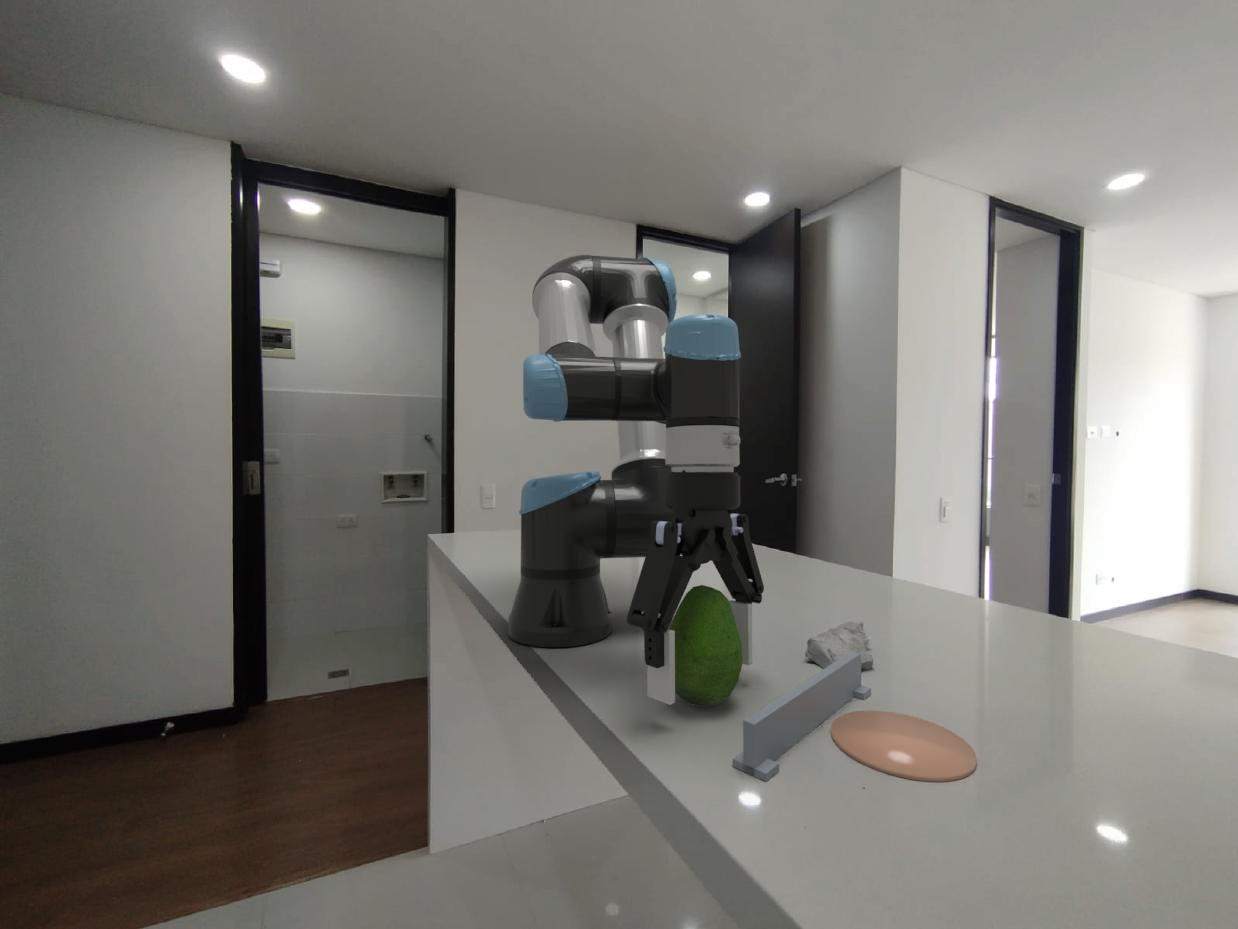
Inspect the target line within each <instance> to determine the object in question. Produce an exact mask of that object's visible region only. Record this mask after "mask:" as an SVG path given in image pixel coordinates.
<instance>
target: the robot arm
mask: <svg viewBox="0 0 1238 929" xmlns="http://www.w3.org/2000/svg"><path fill="white" fill-rule="evenodd" d="M531 296H532V298H531V303H532V309H533V312H534V314H535V316H536V319H538V347H539V348H538V350H539V351H538V352H539V353H538V354H535V355H529V356H526V358H524V361H523V370H522V384H523V385H522V396H523V398H522V399H523V400H522V401H523V411H524V414H525V415H526V417H527V418H528V419H529V418H530V419H533V420H542V421H543V420H546V421H553V422H555V423H557V422H562V421H563V422H564V421H568V422H569V421H571V422H572V421H574V422H575V421H576V422H579V421H581V422H582V421H583V422H584V421H585V422H587V421H591V422H592V421H595V422H598V421H603V422H604V421H609V422H610V421H611V422H612V421H614V422H617V432H618V433H617V434H618V446H619V447H618V448H619V462H618V463H617V464H616V465H615V466H613V468H612V469H611V474H610V475H611V479H602V475H601V473H600V471H598V470H588V471H581V472H571V473H564V474H563V473H562V474H557V475H548V476H543V477H537V478H532V479H529V480H528V481H526V482H525V483H524V484H523V486H522V488H521V492H520V509H519V511H518V513H519V514H518V515H520V581H519V584H518V588H517V591H516V594H515V596H514V600H513V603H512V609H511V612H510V614H509V616H508V622H507V623H508V627H507V628H508V630H507V631H508V633H507V634H508V636H509V638H510V639H511V640H513V641H515V642H517V643H519V644H523V645H527V646H533V647H541V648H565V647H577V646H582V645H587V644H588V645H589V644H592V643H595V642H598V641H601V640H604V639H605V638H608V636H610V635H611V634H612V632H613V614H612V611H611V609H610V608H609V603H608V599H607V595H606V592H605V589H604V586H603V583H602V578H601V559H622V558H623V559H624V558H627V559H630V558H631V559H632V558H644V560H643V564H642V567H641V570H640V574H639V577H638V579H637V580H638V581H637V584H636V587H635V590H634V593H633V596H632V600H631V602H630V606H629V610H628V614H627V617H626V622H627V624H628V625H630V626H633V627H636V628H641V629H642V630H643V633H644V634H643V635H644V637H643V638H644V641H643V642H644V644H643V646H644V652H643V656H644V657H643V658H644V664H645V665H646V666H647V672H646V673H647V674H646V675H647V677H646V678H647V686H646V687H647V697H649V698H652V699H653V700H657V701H659V702H662V703H664V704H666V705H673V704H675V703H676V693H675V631H673V630H669V627H670V625H671V622H672V620H673V618H674V616H675V614H676V611H677V609H678V607H679V605H680V603H681V602H682V599H683V596H684V594H685V591H686V589H687V586H688V584H689V583H690V581H691V578H692V575H693V574H694V573H695V572H696V571H698V570H699V569H700V568H701V566H702V565H704V564H708V563H709V562H711V561H712V563H713V565H714V567H715V568H716V571H717V572H718V574H719V576H720V578H721V580H722V581H723V583H724V585H725V587H726V589H727V591H728V592H729V594H730V596H731V598H732V599H733V600H729V603H730V606H731V609H732V612H733V615H734V618H735V622H736V626H737V629H738V633H739V636H740V640H741V644H742V665H745V666H750V665H752V664H753V604H761V603H762V600H763V593H764V591H765V586H764V582H763V581H764V580H763V578H762V575H761V571H760V568H759V564H758V561H757V556H756V553H755V550H754V546H753V543H752V539H751V536H750V535H751V534H750V525H749V517H748V515H747V514H745V513H743V514H742V513H731V510H736V509H738V508H739V507H740V505H741V475H739V473H738V472H734V471H735V470H734V467H738V466H739V465H740V464H741V463H740V444H741V437H740V390H741V389H740V384H741V382H740V377H741V375H740V372H741V371H740V369H741V368H740V366H741V365H740V362H741V360H740V358H741V357H742V353H741V351H740V341H739V340H740V339H739V338H740V337H739V329H738V325H737V324H736V322H735V321H734V320H733V319H732V318H729V317H728V316H725V315H724V316H723V315H720V314H712V313H711V314H710V313H709V314H708V313H696V314H690V315H683V316H680V317H677V318H676V319H675V316H676V313H677V304H678V300H677V285H676V278H675V274H674V273H673V270H672V268H671V267H670V265H669V264H668V262H666V261H664V260H661V259H653V258H649V257H643V256H642V257H640V258H637V257H636V258H635V257H618V256H607V255H606V256H605V255H591V254H590V255H589V254H580V255H579V254H578V255H573V256H568V257H566V258H563V259H561V260H559V261H557V262H555V263H554V264H552V265H551V266H549V267H548V268H547V269H545V270H544V271H543V272H542V273H541V275H540V276H539V277H538V279H537V280H536V281H535V284H534V286H533V291H532V295H531ZM593 324H595V325H602V332H603V335H604V336H605V338H607V339H608V341H610V342H611V344H612V354H613V355H612V356H598V353H597V349H596V348H597V347H596V344H595V339H594V337H593V332H592V328H591V327H592V326H591V325H593ZM664 335H665V338H664V339H665V340H664V346H663V341H662V337H663V336H664ZM610 633H611V634H610ZM609 634H610V635H609Z"/></svg>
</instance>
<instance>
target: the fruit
mask: <svg viewBox="0 0 1238 929" xmlns="http://www.w3.org/2000/svg"><path fill="white" fill-rule="evenodd" d="M729 601H730V600H729V598H728V597H727V596H725V594H724V593H723V592H722V591H721V590H719V589H717V588H713V587H710V586H706V585H703V584H700V585H697V586H693V587H691V588H690V589H689V591H687V592H686V593H685V595H684V597H682V599H681V601H680V603H679V605H678V607H677V610H676V612H675V614H674V616H673V618H672V621H671V623H670V625H669V627H668V629H669V630H673V631H675V695H677V696H678V698H680V699H682V700H683V701H684V702H686V703H687V704H689V705H693V706H695V707H699V708H700V707H701V708H704V707H707V708H709V707H714V706H716V705H720V704H721V703H723V702H724V701H725V700H726V699H727V698H729V696H730V695H731V694H732V692H733V691H734V688H735V687H736V686H737V683H738V682H739V678H740V675H741V671H742V668H743V664H742V644H741V640H740V636H739V633H738V629H737V626H736V622H735V618H734V615H733V612H732V609H731V606H730V603H729Z"/></svg>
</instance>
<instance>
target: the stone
mask: <svg viewBox="0 0 1238 929" xmlns="http://www.w3.org/2000/svg"><path fill="white" fill-rule="evenodd" d="M871 638H872V637H871V636H869V635H868V634H867V635H866V631H865V629H864V622H863V621H859V622H853V621H847V622H844V623H842V624H840V625H837V627H835V628H829V629H828V630H827V631H826V632H825V631H824V632H823V633H820V634H817V635H816V636H813V637H810V638H808V639H807V642H806V643H807V644H806V645H807V647H806V650H805V653H804V656H805V657H804V658H806V659H807V660H810V661H812V662H815V664H817V665H819V666H820V667H821V668H822V670H823V669H825V668H826V667H828V666H829V665H831V664H832V663H834V662H836V661H837V660H839V659H840V658H842V657H843V656H845V655H847V654H848V653H850V652H851V651H852V652H857V653H861V670H870V669H873V665H874V663H873V662H874V659H873V656H872V654H870V653H869V651H868V650H869V649H870V644H869V641H870V640H871Z"/></svg>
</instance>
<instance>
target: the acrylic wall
mask: <svg viewBox="0 0 1238 929" xmlns="http://www.w3.org/2000/svg"><path fill="white" fill-rule="evenodd" d="M871 694H872V688H871V687H869V686H865V685H862V669H861V653H857V652H852V651H851V652H850V653H848V654H847V655H845V656H843V657H842V658H840V659H839V660H837V661H836V662H834V663H832V664H831V665H829V666H828V667H826V668H825V669H823V668H822V670H820V671H819V672H817V673H816V674H814V675H812V676H810V677H809V678H807V679H806V680H804V681H802V682H801V683H800V684H798V685H796V686H795V687H793V688H792V689H790V690H788V691H787V692H785V693H784V694H782V695H781V696H779V697H777V698H776V699H774V700H773V701H771V702H770V703H768V704H767V705H765V706H763V707H762V708H760V709H759V710H756V712H754V713H753V714H751V715H749V716H748V717H746V718H745V719H743V720H742V732H743V733H742V735H743V736H742V738H743V739H742V743H743V744H742V748H743V750H742V751H741V752H740V753H738V754H737V755H736V756H734V757H733V758H732V763H731V764H732V767H733V768H735V769H738V770H740V771H742V772H745V773H746V774H748V775H751V776H753V777H755V778H758V779H760V780H762V781H764V782H768V781H769V780H770V779H771V778H773V777H774V776H775V775H776V774H777V773H779V772H780V762H777V761H776V760H777V759H778V758H779V757H781V756H782V755H783V754H784V753H786V752H787V751H788V750H790V749H791V748H792V747H794V746H795V745H796V744H797V743H798V742H799V741H801V740H802V739H803V738H805V737H806V736H807V735H808V734H809V733H811V732H812V731H814V730H815V729H816V728H817V727H818V726H820V724H823V722H825V721H826V720H827V719H828V718H829V717H831V716H832V715H833V714H835V713H836V712H837V711H838V710H840V709H841V708H842V707H843V706H845V705H846V704H847V703H848V702H850V701H851V700H852V699H853V698H857V699H861V700H866V699H867V697H869V696H871Z"/></svg>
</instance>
